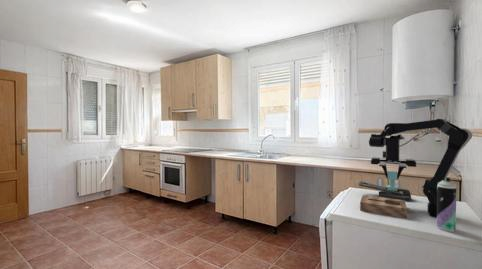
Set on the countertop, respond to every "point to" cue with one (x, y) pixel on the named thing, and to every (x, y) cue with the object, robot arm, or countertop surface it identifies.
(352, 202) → the countertop surface
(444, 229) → the spray can
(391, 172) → the teal peg
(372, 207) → the keyhole plate
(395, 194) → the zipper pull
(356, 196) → the countertop surface
